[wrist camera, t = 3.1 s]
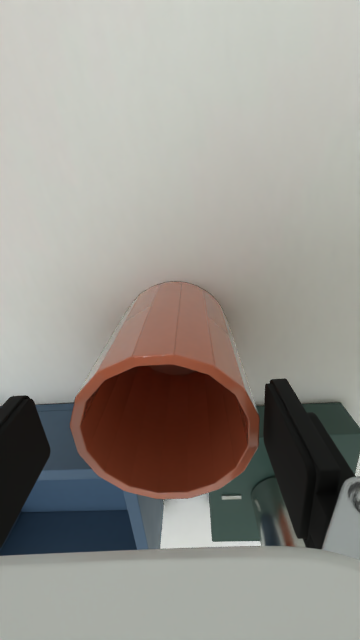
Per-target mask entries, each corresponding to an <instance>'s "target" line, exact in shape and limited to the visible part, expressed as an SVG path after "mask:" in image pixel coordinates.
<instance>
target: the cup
mask: <svg viewBox="0 0 360 640" xmlns="http://www.w3.org/2000/svg"><path fill="white" fill-rule="evenodd" d="M259 424H260V418H259V414H258V411H257V408H256V405H255V402H254V399H253V396H252V393H251V390H250V387H249V384H248V381H247V378H246V374H245V371H244V368H243V365H242V362H241V359H240V356H239V353H238V350H237V347H236V344H235V341H234V338H233V335H232V332H231V329H230V326H229V323H228V320H227V318H226V316H225V314H224V311H223V309H222V307H221V306H220V304H219V303H218V302H217V300H216V299H215V298H214V297H213V296H212V295H211V294H209V293H208V292H207V291H205V290H204V289H202V288H200V287H198V286H195V285H193V284H189V283H185V282H166V283H161V284H157V285H155V286H153V287H150V288H149V289H147V290H145V291H144V292H143V293H141V294H140V295H139V296H138V297H137V298H136V299H135V300H134V302H133V303H132V304H131V306H130V307H129V308H128V310H127V311H126V313H125V314H124V316H123V318H122V319H121V321H120V323H119V325H118V326H117V328H116V330H115V331H114V333H113V335H112V336H111V338H110V340H109V341H108V343H107V345H106V346H105V348H104V350H103V351H102V353H101V355H100V356H99V358H98V360H97V361H96V363H95V365H94V366H93V368H92V370H91V372H90V373H89V375H88V377H87V378H86V380H85V382H84V383H83V385H82V387H81V388H80V390H79V392H78V393H77V395H76V397H75V401H74V406H73V411H72V415H71V420H70V429H71V432H72V436H73V439H74V442H75V445H76V449H77V452H78V454H79V455H80V456H81V457H82V458H83V460H84V461H85V462H86V463H87V464H88V465H89V466H90V468H91V469H92V470H93V471H94V472H95V473H96V474H97V475H98V476H99V477H101V478H102V479H104V480H106V481H108V482H109V483H111V484H113V485H115V486H116V487H118V488H120V489H122V490H123V491H126V492H129V493H133V494H138V495H142V496H146V497H150V498H154V499H188V498H193V497H196V496H199V495H202V494H205V493H209V492H212V491H215V490H218V489H220V488H222V487H223V486H225V485H226V484H227V483H229V482H230V481H232V480H233V479H234V478H236V477H237V476H238V475H240V474H241V473H243V472H244V471H245V469H246V467H247V466H248V464H249V462H250V461H251V459H252V457H253V455H254V454H255V452H256V450H257V449H258V446H259Z"/></svg>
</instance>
